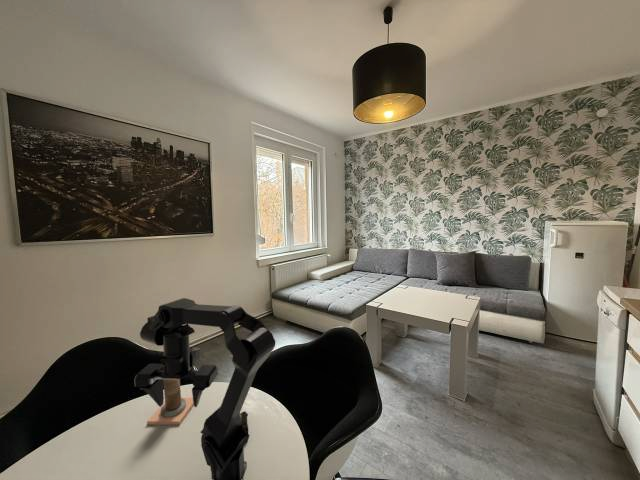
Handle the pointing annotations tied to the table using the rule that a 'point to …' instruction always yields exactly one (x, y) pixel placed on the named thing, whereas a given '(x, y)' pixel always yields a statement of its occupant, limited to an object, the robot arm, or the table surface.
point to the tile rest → (175, 420)
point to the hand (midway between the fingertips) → (178, 405)
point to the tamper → (172, 399)
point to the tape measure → (244, 420)
